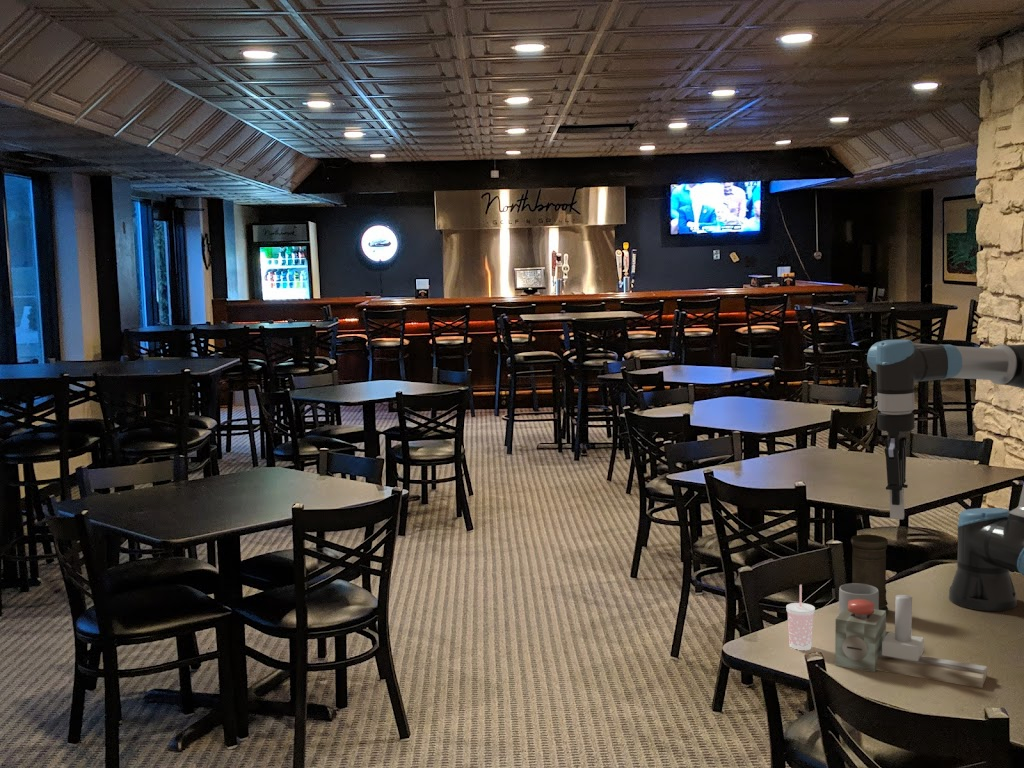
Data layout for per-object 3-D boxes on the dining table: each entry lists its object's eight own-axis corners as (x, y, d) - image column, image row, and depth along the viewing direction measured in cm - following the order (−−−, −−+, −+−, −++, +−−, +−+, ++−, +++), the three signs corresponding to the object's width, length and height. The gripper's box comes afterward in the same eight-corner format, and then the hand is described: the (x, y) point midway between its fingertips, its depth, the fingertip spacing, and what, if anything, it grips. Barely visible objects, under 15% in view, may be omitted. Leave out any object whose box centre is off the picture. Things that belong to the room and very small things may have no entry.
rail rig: (987, 673, 209) (989, 625, 208) (980, 691, 200) (981, 642, 199) (846, 649, 224) (847, 605, 223) (834, 666, 215) (834, 619, 214)
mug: (867, 645, 226) (868, 597, 225) (831, 636, 232) (832, 589, 231) (891, 631, 234) (892, 584, 233) (856, 622, 240) (856, 577, 239)
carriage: (923, 651, 214) (924, 595, 212) (917, 661, 209) (919, 603, 207) (888, 645, 217) (889, 590, 216) (881, 655, 212) (882, 598, 211)
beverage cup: (787, 640, 230) (787, 579, 229) (815, 643, 228) (816, 581, 227) (784, 650, 225) (784, 587, 223) (813, 653, 223) (814, 590, 221)
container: (873, 620, 242) (874, 545, 240) (841, 610, 249) (842, 538, 247) (896, 612, 247) (897, 538, 245) (863, 602, 254) (864, 531, 252)
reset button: (876, 626, 218) (876, 601, 217) (870, 634, 213) (871, 608, 213) (851, 622, 220) (851, 597, 220) (845, 630, 216) (845, 604, 215)
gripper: (883, 406, 230) (885, 509, 233) (871, 416, 219) (873, 524, 222) (919, 407, 226) (920, 512, 229) (908, 417, 215) (910, 527, 218)
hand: (897, 518), depth 225 cm, fingers closed
